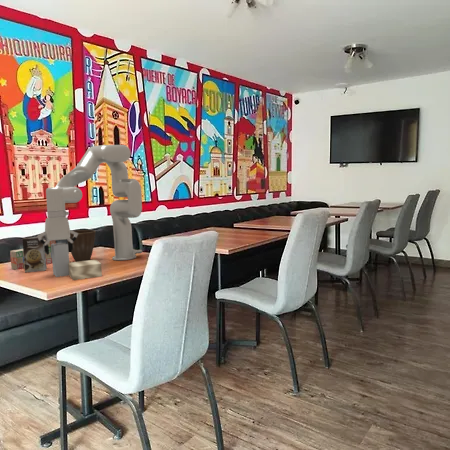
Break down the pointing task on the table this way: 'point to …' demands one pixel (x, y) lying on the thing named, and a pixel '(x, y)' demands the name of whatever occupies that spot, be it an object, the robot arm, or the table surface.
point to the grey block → (60, 259)
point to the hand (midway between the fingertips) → (59, 252)
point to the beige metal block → (85, 269)
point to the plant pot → (83, 245)
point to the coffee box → (34, 254)
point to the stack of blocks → (18, 257)
